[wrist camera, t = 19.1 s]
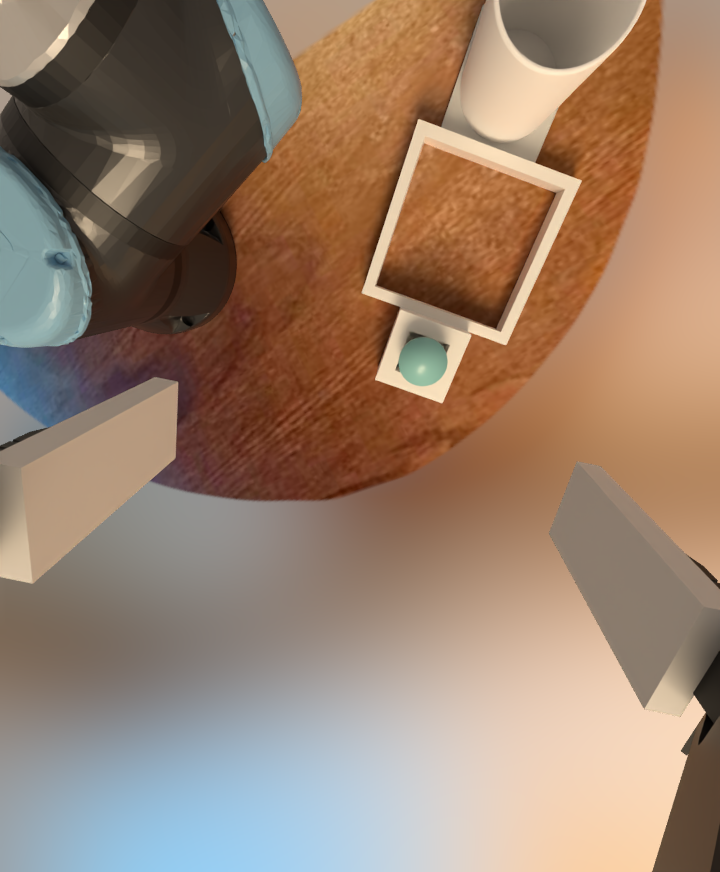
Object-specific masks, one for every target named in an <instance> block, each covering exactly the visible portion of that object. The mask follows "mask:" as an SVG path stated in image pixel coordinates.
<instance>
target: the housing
mask: <svg viewBox="0 0 720 872" xmlns="http://www.w3.org/2000/svg"><path fill="white" fill-rule="evenodd" d="M424 143H425V144H428V145H430V146H433V147H436V148H438V149H441V150H443V151H446V152H449V153H451V154H454V155H457V156H459V157H462V158H465V159H467V160H470V161H473V162H475V163H478V164H481V165H483V166H486V167H489V168H491V169H494V170H497V171H499V172H502V173H505V174H507V175H510V176H512V177H515V178H518V179H520V180H523V181H526V182H528V183H531V184H534V185H536V186H539V187H542V188H544V189H547V190H550V191H552V192H555V193H556V195H555V197H554V200H553V202H552V204H551V206H550V209H549V211H548V213H547V215H546V218H545V220H544V222H543V224H542V227H541V229H540V231H539V233H538V236H537V238H536V240H535V242H534V245H533V247H532V249H531V251H530V254H529V256H528V258H527V260H526V263H525V265H524V267H523V269H522V272H521V274H520V276H519V278H518V281H517V283H516V285H515V287H514V290H513V292H512V294H511V296H510V299H509V301H508V303H507V305H506V308H505V310H504V312H503V314H502V317H501V319H500V321H499V323H498V325H497V328H493V327H490V326H487V325H485V324H482V323H479V322H476V321H474V320H471V319H468V318H465V317H463V316H460V315H457V314H454V313H452V312H449V311H446V310H443V309H441V308H438V307H435V306H432V305H430V304H427V303H424V302H421V301H419V300H416V299H413V298H410V297H408V296H405V295H402V294H399V293H397V292H394V291H391V290H388V289H386V288H383V287H380V286H377V282H378V279H379V276H380V273H381V270H382V267H383V264H384V261H385V258H386V255H387V252H388V249H389V246H390V243H391V240H392V237H393V234H394V231H395V228H396V225H397V222H398V219H399V216H400V213H401V210H402V207H403V204H404V201H405V198H406V195H407V192H408V189H409V186H410V183H411V180H412V177H413V174H414V171H415V168H416V165H417V162H418V159H419V156H420V153H421V150H422V148H423V145H424ZM580 183H581V180H579V179H576V178H573V177H571V176H568V175H565V174H563V173H560V172H558V171H555V170H552V169H550V168H547V167H544V166H542V165H539V164H536V163H534V162H531V161H528V160H526V159H523V158H521V157H518V156H515V155H513V154H510V153H507V152H505V151H502V150H499V149H497V148H494V147H492V146H489V145H486V144H484V143H481V142H478V141H476V140H473V139H470V138H468V137H465V136H462V135H460V134H457V133H455V132H452V131H449V130H447V129H444V128H441V127H439V126H436V125H433V124H431V123H428V122H426V121H423V120H420V119H418V122H417V125H416V128H415V131H414V134H413V137H412V140H411V144H410V147H409V150H408V153H407V156H406V159H405V162H404V165H403V168H402V171H401V174H400V177H399V180H398V183H397V186H396V190H395V193H394V196H393V199H392V202H391V205H390V208H389V211H388V214H387V217H386V220H385V223H384V226H383V229H382V232H381V236H380V239H379V242H378V245H377V248H376V251H375V254H374V257H373V260H372V263H371V266H370V269H369V272H368V275H367V278H366V282H365V285H364V288H363V291H362V293H363V294H366V295H369V296H371V297H374V298H377V299H380V300H382V301H385V302H388V303H391V304H393V305H396V306H399V307H400V308H399V311H398V314H397V317H396V319H395V322H394V325H393V328H392V330H391V333H390V336H389V339H388V342H387V344H386V347H385V350H384V353H383V355H382V358H381V361H380V364H379V367H378V370H377V374H376V378H375V380H378V381H381V382H384V383H386V384H389V385H392V386H395V387H398V388H400V389H403V390H406V391H409V392H412V393H415V394H417V395H420V396H423V397H426V398H429V399H431V400H434V401H437V402H440V403H443V401H444V398H445V396H446V394H447V391H448V389H449V387H450V384H451V382H452V380H453V377H454V375H455V373H456V370H457V368H458V366H459V363H460V361H461V359H462V356H463V354H464V352H465V349H466V347H467V345H468V342H469V340H470V338H471V334H470V333H469V332H471V333H473V334H476V335H479V336H482V337H484V338H487V339H490V340H493V341H496V342H498V343H501V344H504V345H506V344H507V342H508V340H509V338H510V336H511V333H512V331H513V329H514V327H515V325H516V323H517V320H518V318H519V316H520V314H521V312H522V310H523V307H524V305H525V303H526V301H527V299H528V296H529V294H530V292H531V290H532V288H533V286H534V283H535V281H536V279H537V277H538V275H539V273H540V270H541V268H542V266H543V264H544V262H545V259H546V257H547V255H548V253H549V251H550V249H551V246H552V244H553V242H554V240H555V238H556V236H557V233H558V231H559V229H560V227H561V225H562V222H563V220H564V218H565V216H566V214H567V212H568V209H569V207H570V205H571V203H572V201H573V199H574V196H575V194H576V192H577V190H578V188H579V185H580ZM417 337H429V338H432V339H435V340H436V341H438V342H439V343H440V344H441V345H442V346H443V348H444V350H445V352H446V354H447V360H448V363H447V369H446V371H445V373H444V375H443V376H442V378H441V379H440V380H438V381H437V382H436V383H434V384H432V385H429V386H416V385H413V384H411V383H409V382H408V381H407V380H406V379H405V378H404V377H403V376H402V374H401V372H400V369H399V355H400V352H401V350H402V348H403V347H404V346H405V345H406V344H407V343H408V342H409V341H410V340H412V339H414V338H417Z"/></svg>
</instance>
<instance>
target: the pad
mask: <svg viewBox="0 0 720 872" xmlns="http://www.w3.org/2000/svg"><path fill="white" fill-rule="evenodd" d="M483 8H484V4H483V6H482V9H481V12H480V15H479V18H478V21H477V24H476V27H475V30H474V33H473V35H472V38H471V41H470V44H469V47H468V50H467V53H466V56H465V59H464V62H463V65H462V67H461V70H460V73H459V76H458V79H457V82H456V85H455V88H454V91H453V94H452V97H451V99H450V102H449V105H448V108H447V111H446V114H445V117H444V120H443V123H442V126H441V128H444V129H447V130H449V131H452V132H455V133H457V134H460V135H462V136H465V137H468V138H470V139H473V140H476V141H478V142H481V143H484V144H486V145H489V146H492V147H494V148H497V149H499V150H502V151H505V152H507V153H510V154H513V155H515V156H518V157H521V158H523V159H526V160H528V161H531V162H534V163H535V162H536V159H537V157H538V155H539V152H540V150H541V147H542V145H543V143H544V140H545V138H546V136H547V133H548V131H549V128H550V126H551V124H552V121H553V119H554V116H555V114H556V112H557V109H558V108H557V109H556V110H555V111H554V112H553V113H552V114H551V115H550V116H549V117H548V118H547V119H546V120H545V121H544V122H543V123H542V124H541V125H540V126H539V127H538V128H537V129H535V130H534V131H533V132H532V133H530V134H529V135H527V136H526V137H524V138H522V139H519V140H517V141H513V142H508V143H498V142H492V141H489V140H487V139H485V138H483V137H481V136H480V135H478V134H477V133H476V132H475V131H474V130H473V129H472V128H471V126H470V125H469V124H468V122H467V120H466V118H465V116H464V113H463V110H462V106H461V100H460V86H461V79H462V75H463V71H464V68H465V65H466V62H467V59H468V56H469V53H470V49H471V46H472V43H473V40H474V37H475V34H476V31H477V27H478V24H479V21H480V18H481V15H482V12H483Z"/></svg>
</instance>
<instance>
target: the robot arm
mask: <svg viewBox="0 0 720 872" xmlns="http://www.w3.org/2000/svg"><path fill="white" fill-rule="evenodd" d="M0 87H1V88H2V89H4V90H5V91H7V92H8V93H10V94H11V95H12V97H11V99H10V101H9V102H8V103H7V105H6V106H5V108H4V110H3V111H2V113H1V114H0V344H2V345H8V346H13V347H39V346H60V345H64V344H68V343H69V342H73V341H74V340H76V339H81V338H85V337H89V336H93V335H97V334H101V333H105V332H109V331H114V330H118V329H122V328H126V327H130V326H132V327H135V328H138V329H141V330H144V331H147V332H151V333H157V334H177V333H182V332H186V331H189V330H192V329H195V328H198V327H200V326H202V325H204V324H206V323H208V322H209V321H210V320H212V319H213V318H214V317H215V316H216V315H217V314H218V313H219V312H220V311H221V310H222V308H223V307H224V306H225V304H226V303H227V301H228V299H229V297H230V294H231V292H232V289H233V286H234V282H235V276H236V253H235V247H234V243H233V239H232V236H231V233H230V230H229V228H228V226H227V224H226V222H225V220H224V218H223V216H222V215H221V213H220V212H219V209H220V208H221V207H222V206H223V205H224V204H225V202H226V201H227V200H228V199H229V198H230V197H231V196H232V195H233V193H234V192H235V191H236V190H237V189H238V188H239V187H240V185H241V184H242V183H243V182H244V181H245V180H246V179H247V178H248V176H249V175H250V174H251V173H252V172H253V171H254V170H255V169H256V167H257V166H258V165H259V164H260V163H261V162H264V163H265V162H267V161H268V160H269V159H270V157H271V155H272V152H273V149H274V147H275V146H276V145H277V144H278V143H279V141H280V140H281V139H282V138H283V136H284V135H285V134H286V133H287V131H288V130H289V129H290V128H291V126H292V125H293V124H294V123H295V121H296V120H297V118H298V116H299V114H300V111H301V103H302V92H301V83H300V79H299V76H298V73H297V70H296V67H295V65H294V62H293V60H292V57H291V55H290V53H289V51H288V49H287V46H286V44H285V43H284V40H283V38H282V36H281V34H280V32H279V30H278V28H277V26H276V24H275V22H274V20H273V18H272V16H271V14H270V13H269V11H268V9H267V7H266V5H265V3H264V1H263V0H0ZM177 401H178V382H176V381H171V380H166V379H161V378H156V377H155V378H153V379H150V380H148V381H146V382H144V383H142V384H140V385H138V386H136V387H134V388H132V389H129V390H127V391H125V392H123V393H121V394H119V395H117V396H115V397H113V398H111V399H109V400H106V401H104V402H102V403H100V404H98V405H96V406H94V407H92V408H90V409H88V410H86V411H83V412H81V413H79V414H77V415H75V416H73V417H71V418H69V419H67V420H65V421H63V422H60V423H58V424H56V425H54V426H52V427H48V428H44V429H40V430H36V431H32V432H29V433H27V434H24V435H22V436H20V437H18V438H16V439H14V440H13V442H11V441H10V442H7V443H5V444H3V445H1V446H0V577H4V578H8V579H13V580H18V581H23V582H27V583H34V582H35V581H36V580H37V579H38V578H39V577H41V576H42V575H43V574H44V573H45V572H46V571H48V570H49V569H50V568H51V567H52V566H53V565H54V564H56V563H57V562H58V561H59V560H60V559H61V558H62V557H63V556H65V555H66V554H67V553H68V552H69V551H70V550H71V549H73V548H74V546H76V545H77V544H78V543H79V542H81V541H82V540H83V539H84V538H85V537H86V536H87V535H88V534H90V533H91V532H92V531H93V530H94V529H95V528H96V527H98V526H99V525H100V524H101V523H102V522H103V521H104V520H105V519H107V518H108V517H109V516H110V515H111V514H112V513H113V512H114V511H116V510H117V509H118V508H119V507H120V506H121V505H123V504H124V503H125V502H126V501H127V500H128V499H129V498H130V497H131V496H133V495H134V494H135V493H136V492H137V491H138V490H139V489H141V488H142V487H143V486H144V485H145V484H146V483H148V482H149V481H150V480H151V479H152V478H153V477H154V476H156V475H157V474H158V473H159V472H160V471H161V470H162V469H164V468H165V467H166V466H167V465H168V464H169V463H170V462H171V461H173V460H174V459H175V457H176V429H177ZM549 535H550V536H551V538H552V540H553V542H554V544H555V546H556V548H557V549H558V551H559V553H560V555H561V557H562V559H563V560H564V562H565V564H566V566H567V568H568V570H569V572H570V573H571V575H572V577H573V579H574V580H575V583H576V584H577V586H578V588H579V590H580V592H581V593H582V595H583V597H584V599H585V601H586V602H587V605H588V606H589V608H590V610H591V612H592V614H593V616H594V618H595V619H596V621H597V623H598V625H599V627H600V629H601V631H602V632H603V634H604V636H605V638H606V640H607V641H608V643H609V645H610V647H611V649H612V651H613V652H614V654H615V656H616V658H617V660H618V662H619V664H620V666H621V667H622V669H623V671H624V673H625V675H626V677H627V678H628V680H629V682H630V684H631V686H632V688H633V690H634V691H635V693H636V695H637V697H638V699H639V701H640V702H641V704H642V706H643V708H644V709H645V710H650V711H655V712H660V713H665V714H669V715H674V716H679V717H681V715H682V714H683V712H684V710H685V709H686V707H687V706H688V704H689V702H690V701H691V699H692V698H693V696H694V695H695V697H696V698H697V700H698V701H699V703H700V704H701V706H702V707H703V709H704V710H705V711H706V713H705V715H704V716H703V718H702V719H701V721H700V722H699V724H698V725H697V727H696V728H695V730H694V731H693V733H692V735H691V736H690V737H689V739H688V741H687V742H686V744H685V745H684V747H683V748H682V750H681V752H683V753H684V754H685V755H688V757H687V760H686V764H685V767H684V770H683V773H682V777H681V780H680V783H679V786H678V790H677V793H676V796H675V800H674V803H673V806H672V809H671V812H670V816H669V819H668V822H667V825H666V829H665V832H664V835H663V838H662V842H661V845H660V848H659V852H658V855H657V858H656V861H655V865H654V868H653V871H652V872H720V583H717V581H718V580H717V579H716V578H715V577H714V576H713V575H712V574H711V573H709V571H708V570H707V569H706V568H705V567H704V566H702V565H701V564H699V563H698V562H696V561H695V560H693V559H692V558H691V557H689V556H688V555H687V554H685V553H684V552H683V551H682V550H681V549H680V548H679V547H678V546H677V545H676V544H675V543H674V542H673V540H672V539H671V538H670V537H669V536H668V535H667V534H666V533H665V532H664V531H663V530H662V529H661V528H660V527H659V526H658V525H657V524H656V523H655V522H654V521H653V520H652V519H651V518H650V517H649V516H648V515H647V514H646V513H645V512H644V511H643V510H642V509H641V508H640V507H639V505H638V504H637V503H636V502H635V501H634V500H633V499H632V498H631V497H630V496H629V495H628V494H627V493H626V492H625V491H624V490H623V489H622V488H621V487H620V486H619V485H618V484H617V483H616V482H615V481H614V480H613V479H612V478H611V477H610V475H608V474H607V472H606V471H605V470H604V469H603V468H602V467H601V466H597V465H592V464H587V463H582V462H577V463H576V465H575V468H574V470H573V473H572V476H571V478H570V481H569V483H568V486H567V488H566V491H565V493H564V496H563V498H562V501H561V503H560V506H559V509H558V511H557V514H556V517H555V519H554V521H553V524H552V527H551V529H550V531H549Z"/></svg>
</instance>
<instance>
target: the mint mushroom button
mask: <svg viewBox="0 0 720 872" xmlns="http://www.w3.org/2000/svg"><path fill="white" fill-rule="evenodd" d="M447 363H448V360H447V354H446V352H445V350H444V348H443V346H442V345H441V344H440V343H439V342H438V341H436V340H435V339H432V338H429V337H417V338H414V339H412V340H410V341H409V342H408V343H407V344H406V345H405V346H404V347H403V348H402V350H401V352H400V355H399V369H400V372H401V374H402V376H403V377H404V378H405V379H406V380H407V381H408V382H409V383H411V384H413V385H416V386H429V385H432V384H434V383H436V382H437V381H438V380H440V379H441V378H442V376H443V375H444V373H445V371H446V369H447Z"/></svg>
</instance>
